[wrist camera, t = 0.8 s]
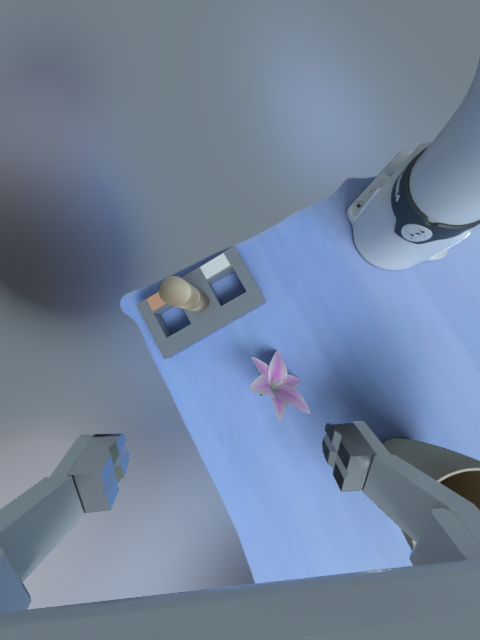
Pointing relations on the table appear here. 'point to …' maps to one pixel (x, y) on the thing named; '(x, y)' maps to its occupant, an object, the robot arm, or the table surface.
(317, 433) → the table surface
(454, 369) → the table surface
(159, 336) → the socket deck
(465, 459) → the plant pot
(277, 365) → the lily
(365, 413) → the table surface
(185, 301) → the peg
